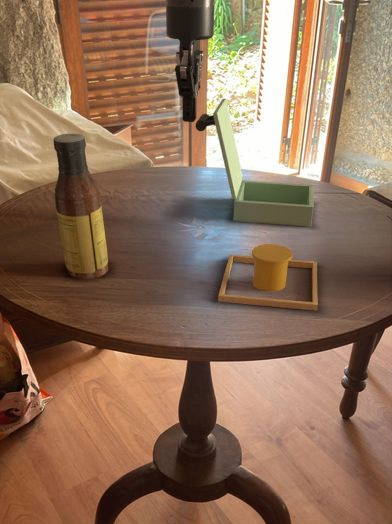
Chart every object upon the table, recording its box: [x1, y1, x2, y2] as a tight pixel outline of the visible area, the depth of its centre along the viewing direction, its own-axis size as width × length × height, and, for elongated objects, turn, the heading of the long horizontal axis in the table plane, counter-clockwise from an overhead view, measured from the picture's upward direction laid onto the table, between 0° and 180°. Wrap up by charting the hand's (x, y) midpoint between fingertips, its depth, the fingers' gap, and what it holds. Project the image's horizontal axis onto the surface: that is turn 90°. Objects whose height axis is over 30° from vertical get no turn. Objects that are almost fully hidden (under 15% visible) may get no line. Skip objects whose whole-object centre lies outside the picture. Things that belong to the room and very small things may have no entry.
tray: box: [217, 254, 318, 311], centre depth 81 cm, size 13×13×2 cm
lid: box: [195, 97, 244, 200], centre depth 100 cm, size 14×12×5 cm
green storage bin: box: [232, 179, 315, 228], centre depth 104 cm, size 14×12×4 cm
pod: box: [251, 243, 293, 293], centre depth 80 cm, size 6×6×5 cm
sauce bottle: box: [53, 133, 109, 280], centre depth 79 cm, size 7×6×20 cm
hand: (189, 120), depth 98 cm, fingers closed
